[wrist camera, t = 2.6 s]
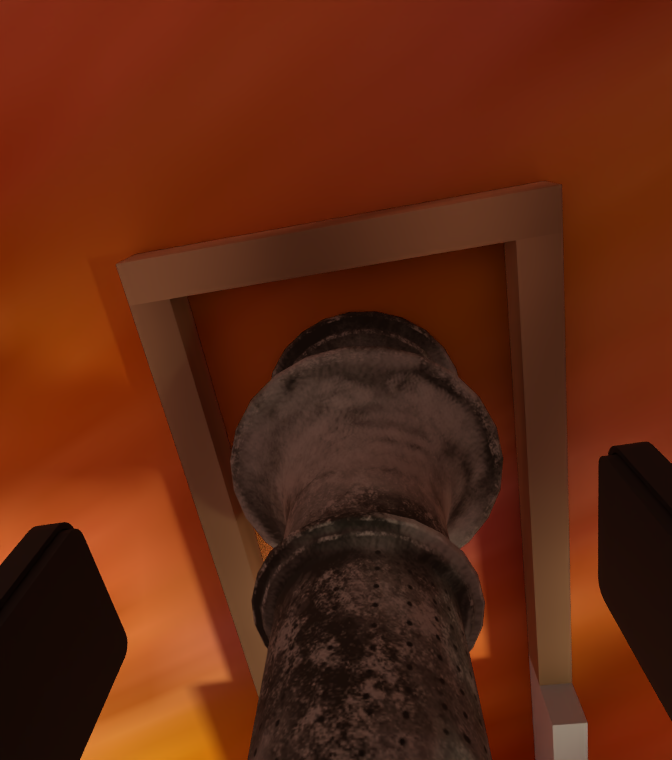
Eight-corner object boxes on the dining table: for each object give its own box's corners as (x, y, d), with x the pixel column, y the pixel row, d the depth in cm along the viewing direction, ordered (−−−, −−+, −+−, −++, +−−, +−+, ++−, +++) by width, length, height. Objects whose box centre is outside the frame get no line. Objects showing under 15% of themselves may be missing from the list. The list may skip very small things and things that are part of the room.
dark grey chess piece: (464, 283, 14) (863, 829, 3) (479, 481, 16) (735, 1214, 5) (236, 317, 14) (-163, 880, 3) (281, 504, 17) (128, 1205, 6)
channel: (544, 180, 13) (561, 184, 12) (559, 650, 19) (572, 683, 17) (134, 254, 14) (115, 264, 13) (268, 677, 20) (262, 709, 18)
